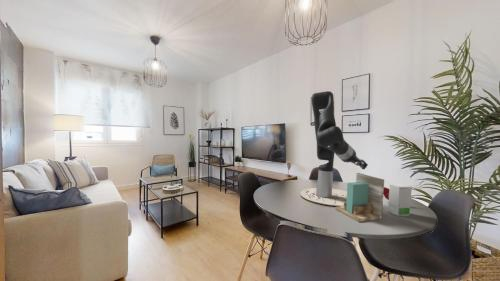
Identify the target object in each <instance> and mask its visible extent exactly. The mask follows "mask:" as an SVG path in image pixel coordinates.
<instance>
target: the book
mask: <svg viewBox="0 0 500 281" xmlns="http://www.w3.org/2000/svg"><path fill="white" fill-rule="evenodd" d="M346 185H347V187H346V188H347V189H346V201H345V202H346V211H348V212H350V213H352V214H353V212H354V206H363V205H368V188H369V184H368V183H364V182H356V181H353V182H347V184H346Z"/></svg>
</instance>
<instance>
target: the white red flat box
mask: <svg viewBox="0 0 500 281" xmlns="http://www.w3.org/2000/svg"><path fill="white" fill-rule="evenodd" d="M383 197H385V199H386V200H387V201H389V188H388V187H386V186H384V193H383ZM413 198H414V196H411V199H413Z"/></svg>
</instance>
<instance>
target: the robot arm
mask: <svg viewBox="0 0 500 281" xmlns="http://www.w3.org/2000/svg"><path fill="white" fill-rule="evenodd" d="M310 99H311V107H312V113H313V119H314V131H315V140H316V157H317V159H318V160H320V161H328V162H327V163H324V164H320V165H318V171H317V173H318V175H317V176H318V177H317V180H316V187H315V188H316V191H315V192H316V193H315V194H316V195H317V196H318V197H322V198H332V196H333V181H334V160H335V155H336V157H338V159H340V161H342V162H343V163H350V164H353V165H355V166H359V168H361V169H362V170H366V169H367V167H368V163H367V162H366V161H365V160H364V159H361V158H359V157H358V156H357V151H356V150H355V148H353V147H352V146H351V144H349V143H348V142H347V141H346V140H345V139H344V134H343V130H342V128H340V127H339V126H337V124H336V123H337V122H336V118H335V100H334V94H333V92H332V91H329V90H326V91H320V92H314V93H313V94H312V95H311V98H310ZM321 110H322V112H321Z"/></svg>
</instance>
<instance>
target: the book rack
mask: <svg viewBox="0 0 500 281" xmlns="http://www.w3.org/2000/svg"><path fill="white" fill-rule="evenodd" d="M355 182H364V183H368V184H369V188H368V205H363V206H354V212H353V214H352V213H350V212H348V211H346V202H347V201H343V205H341V206H339V205H338V206H335V208H334V209H335V211H337V212H339V213H341V214H342V215H345V216H346V217H349V219H352V220H354V221H355V222H357V223H359V222H368V221H375V220H382V219H383V204H384V194H383V193H384V187H385V179H383V178H378V177H375V176H371V175H368V174H364V173H360V172H356V179H355Z"/></svg>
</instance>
